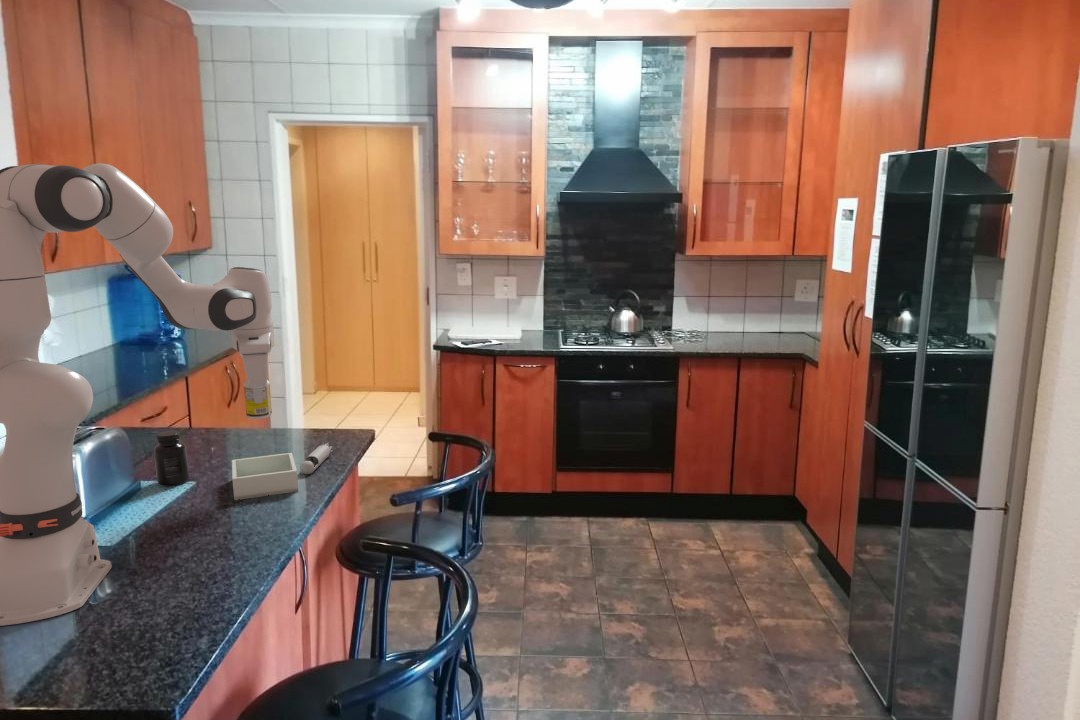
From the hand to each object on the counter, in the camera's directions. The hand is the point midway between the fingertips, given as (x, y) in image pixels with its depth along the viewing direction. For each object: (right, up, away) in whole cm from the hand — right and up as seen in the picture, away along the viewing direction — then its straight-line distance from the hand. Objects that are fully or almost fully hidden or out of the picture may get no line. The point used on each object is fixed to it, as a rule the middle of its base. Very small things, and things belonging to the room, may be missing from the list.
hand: (257, 398), depth 168 cm
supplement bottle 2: (0, -4, +1) cm, 4 cm away
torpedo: (+8, -18, +19) cm, 28 cm away
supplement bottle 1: (-23, -20, +7) cm, 31 cm away
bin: (0, -21, +4) cm, 21 cm away
